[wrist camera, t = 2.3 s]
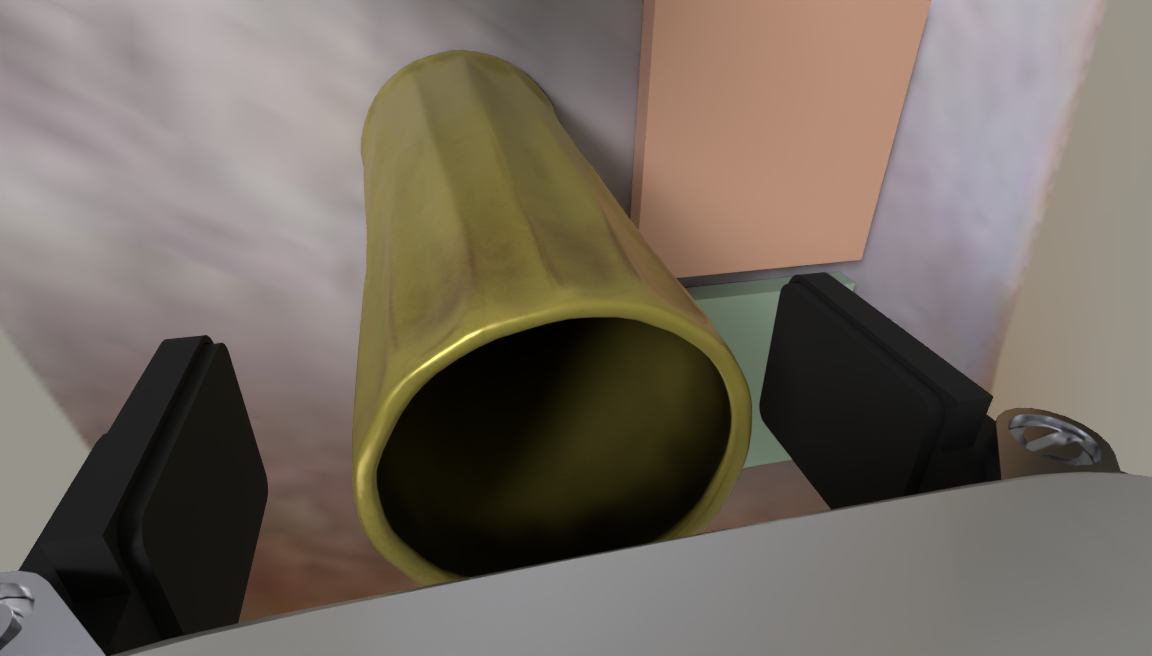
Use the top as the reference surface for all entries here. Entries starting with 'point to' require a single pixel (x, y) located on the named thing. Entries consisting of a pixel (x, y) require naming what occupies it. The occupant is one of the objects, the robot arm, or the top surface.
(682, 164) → the terracotta coaster
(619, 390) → the vase
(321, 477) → the top surface
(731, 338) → the green coaster
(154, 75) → the top surface
